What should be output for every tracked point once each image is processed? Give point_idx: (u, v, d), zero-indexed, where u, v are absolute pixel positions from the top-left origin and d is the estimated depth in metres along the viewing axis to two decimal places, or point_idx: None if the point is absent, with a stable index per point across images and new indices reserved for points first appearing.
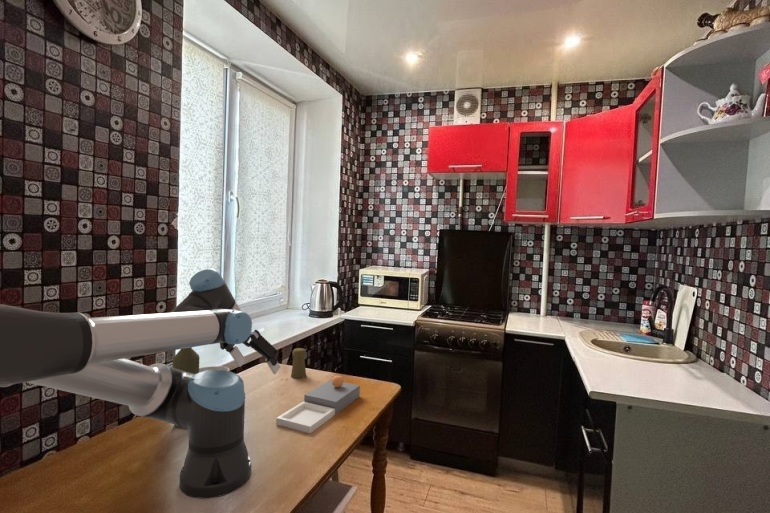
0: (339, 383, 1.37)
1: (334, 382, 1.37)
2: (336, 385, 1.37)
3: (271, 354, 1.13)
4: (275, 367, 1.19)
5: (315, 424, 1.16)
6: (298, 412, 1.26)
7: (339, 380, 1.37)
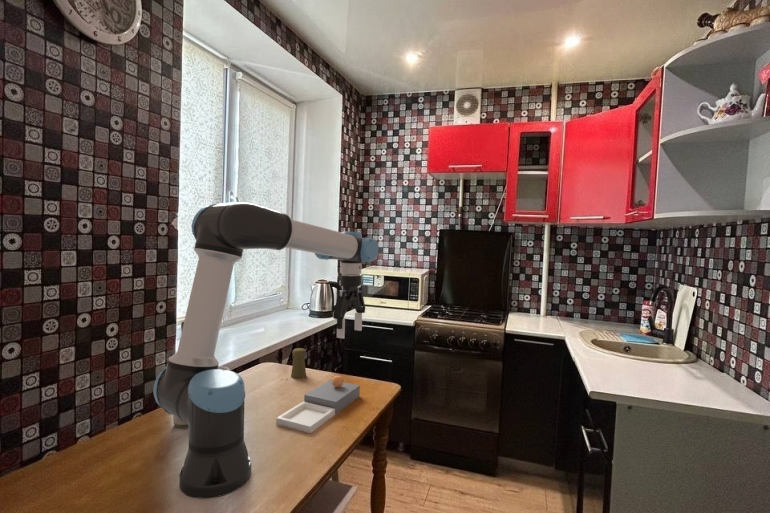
0: (339, 383, 1.37)
1: (334, 382, 1.37)
2: (336, 385, 1.37)
3: (334, 313, 1.37)
4: (339, 333, 1.39)
5: (315, 424, 1.16)
6: (298, 412, 1.26)
7: (339, 380, 1.37)
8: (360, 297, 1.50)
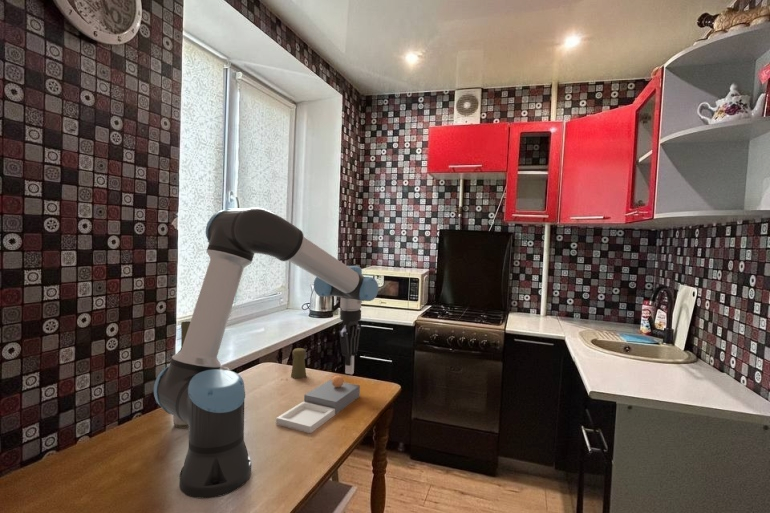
0: (339, 383, 1.37)
1: (334, 382, 1.37)
2: (336, 385, 1.37)
3: (342, 352, 1.43)
4: (348, 369, 1.46)
5: (315, 424, 1.16)
6: (298, 412, 1.26)
7: (339, 380, 1.37)
8: (356, 335, 1.49)
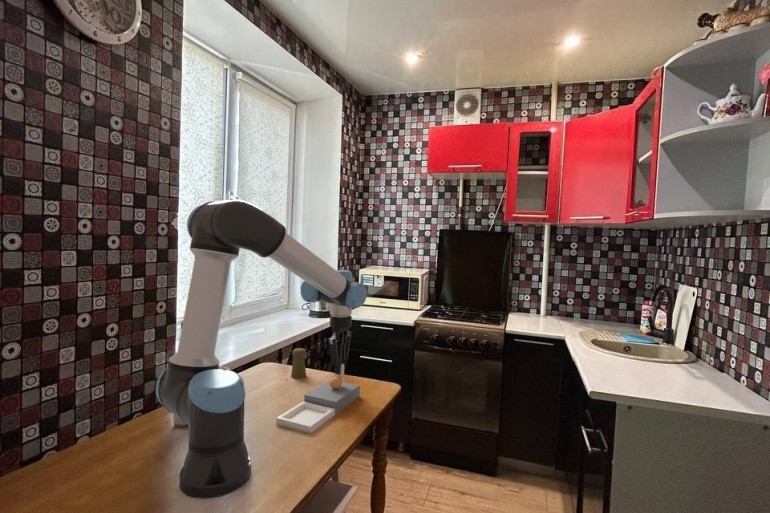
0: (337, 387, 1.36)
1: (332, 387, 1.36)
2: (335, 388, 1.36)
3: (331, 360, 1.36)
4: None
5: (315, 424, 1.16)
6: (298, 412, 1.26)
7: (337, 385, 1.36)
8: (347, 342, 1.42)
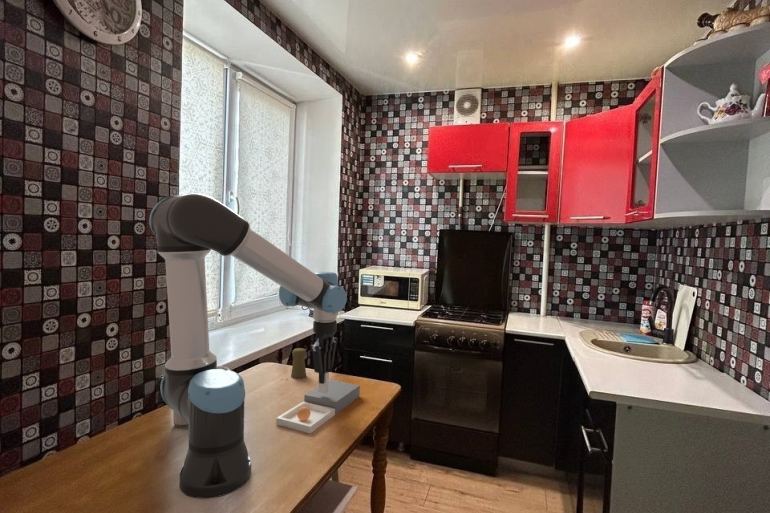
0: (310, 412, 1.21)
1: None
2: None
3: (315, 368, 1.27)
4: (321, 387, 1.30)
5: (315, 424, 1.16)
6: None
7: None
8: (332, 349, 1.33)
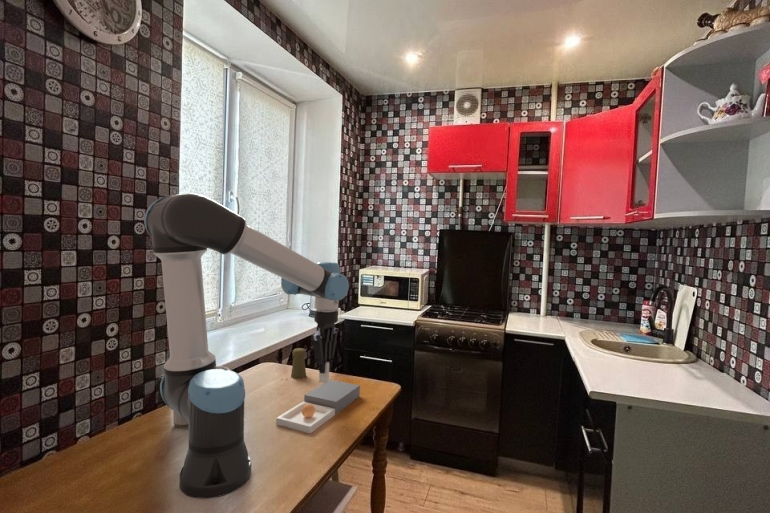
0: (313, 413, 1.23)
1: None
2: None
3: (315, 358, 1.27)
4: (322, 377, 1.30)
5: (315, 424, 1.16)
6: (298, 412, 1.26)
7: (312, 415, 1.22)
8: (333, 339, 1.33)
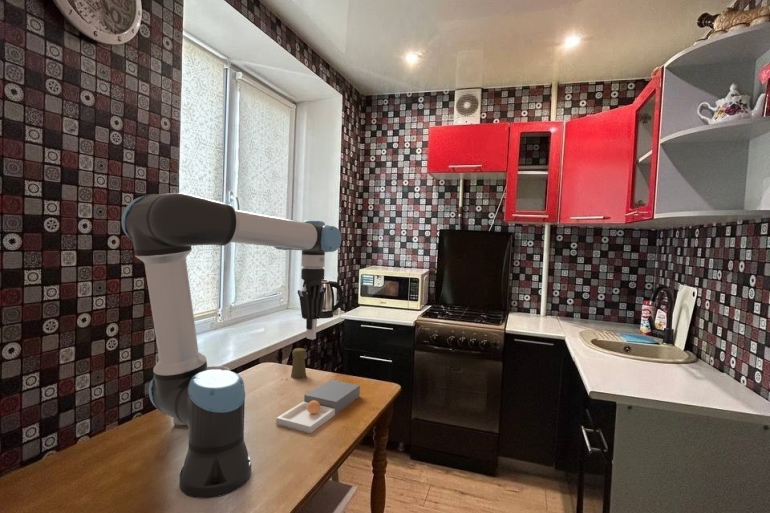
0: (315, 412, 1.24)
1: (310, 412, 1.24)
2: (313, 413, 1.25)
3: (302, 314, 1.30)
4: (309, 333, 1.33)
5: (315, 424, 1.16)
6: (298, 412, 1.26)
7: (315, 410, 1.24)
8: (320, 298, 1.36)
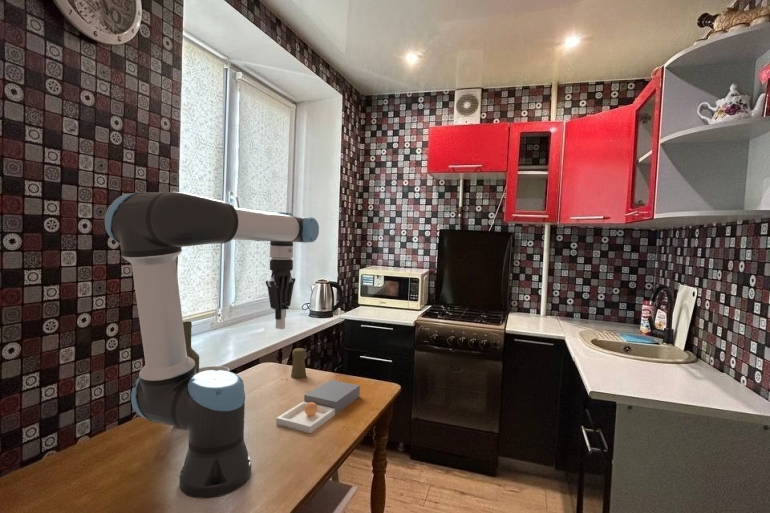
0: (314, 414, 1.24)
1: None
2: None
3: (271, 304, 1.32)
4: (278, 323, 1.35)
5: (315, 424, 1.16)
6: (298, 412, 1.26)
7: (313, 414, 1.23)
8: (289, 288, 1.38)
